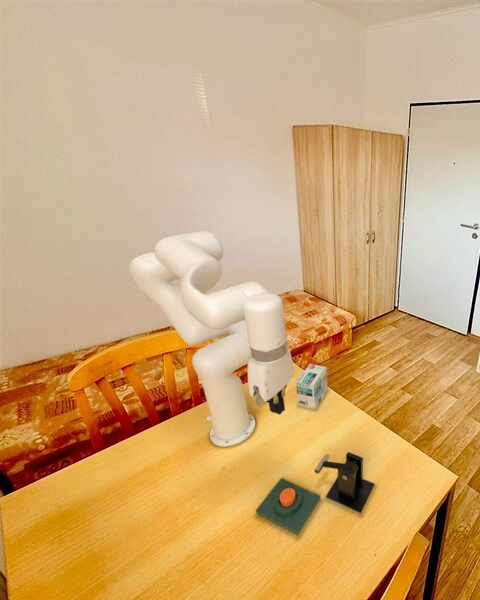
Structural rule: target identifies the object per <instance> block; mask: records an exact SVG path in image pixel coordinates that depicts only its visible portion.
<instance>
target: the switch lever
mask: <svg viewBox="0 0 480 600" xmlns="http://www.w3.org/2000/svg"><path fill="white" fill-rule="evenodd" d="M330 457H331V456H330V454H328V453H325V454H324V456H323V457H322V459H321V460H320V461H319V462H318V464H317V465H316V467H315V469H314V471H313V472H314V473H315V474H317V475H319V474H320V473H321V472H322V470H323V468H328V469H335V470H338V467H339V465H342V466H344V467H347V468H349V469H351V470H354V471H356V472H357V470H358V469H359V468H358V465H357V463H356V461H351V460H347V461H346V460H345V462H343V463H342V462H335V461H329V460H330Z"/></svg>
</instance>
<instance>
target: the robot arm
mask: <svg viewBox="0 0 480 600" xmlns="http://www.w3.org/2000/svg"><path fill="white" fill-rule="evenodd" d="M223 257H224V247H223V244H222V242H221V240H220V239H219V238H218V236H217V235H215V234H214V233H212V232H210V231H206V230H199V231H194V232H187V233H181V234H174V235H169V236H166V237H164V238H162V239H160V240H158V242H157V243H156V244H155V246H154V250H153V251H151V252H146V253H143V254H141V255H138V256H136V257H135V258H133V259H132V260H131V261H130V262H129V266H128V269H129V273H130V276H131V278H132V280H133V282H134V283H135V285H136V286H137V288H138V289H139V290H140V291H141V293H143V294H144V295H145V296H146V297H147V298H148V299H149V300H151V301H152V302H153V303H155V304H156V306H157V307H159V309H161V311H162V312H163V313H164V316H166V318H167V319H168V321H169V322H170V324H171V325H172V327H173V328H174V330H175V331H176V332H177V334H178V336H179V337H180V338H181V340H182V341H183V342H184V343H186V345H188V346H191V347H192V346H193V347H194V346H198V345H201V344H204V343H207V342H209V341H211V340H214V339H216V338H219V337H221V336H224V335H226V334H227V335H228V336H225V337H223V338H220V339H218V340H215V341H213V342H211V343H209V344H207V345H204V346H203V347H201V348H199V349H197V350H196V352H195V353H194V354H193V356H192V358H191V363H192V367H193V370H194V371H195V373H196V375H197V377H198V378H199V381H200V384H201V386H202V388H203V392H204V395H205V399H206V403H207V406H208V410H209V414H210V415H208V416H207V417H206V420H207V421H208V422H211V425H212V427H211V429H210V430H209V438H210V441H211V442H212V443H213V445H215V446H218V447H225V448H227V447H232V446H233V447H234V446H236V445H238V444H241V443H242V442H244V441H245V440H247V439H248V438H249V437H250V436H251V435H252V434H253V433H254V431H255V428H256V419H255V417H254V416H253V415H252V414H251V413H249V411H248V405H247V402H246V397H245V391H244V386H243V381H242V379H241V378H240V377H239V375H237V374H235V373H233V372H235V371H236V370H238V369H240V368H242V367H243V366H245V365H247V385H248V392H249V396H250V397H252V398H254V397H255V406H258V407H260V408H262V407H263V406H265V405H267V404H268V407H269V411H270V412H271V413H274V414H277V415H282V413H283V412H285V410H286V409H285V407H286V406H285V398H284V397H285V396H286V388H287V387H288V386H287V385H288V384H289V383H290V382H291V381H292V380H293V378H294V374H295V372H294V363H293V357H292V354H291V353H292V352H291V351H290V347H289V346H288V340H287V337H288V334H287V330H286V321H285V320H286V319H285V311H284V310H285V309H284V303H283V300H282V298H281V297H280V295H278V294H275V293H273V292H270V291H269V290H268V289H267V288H265V286H264V285H263V284H261V283H260V282H257V281H255V280H254V281H251V280H250V281H246V282H243V283H239V284H236V285H233V286H230V287H227V288H224V289H220V290H217V291H214V292H211V293H208V294H207V292H209V291H210V290H211V289H212V288H214V286H216V285H217V283H218V282H219V281H220V279H221V277H222V274H223V268H222V265H221V263H220V261H221V260H222V258H223ZM177 280H181V282H180V285H178V284H174V283H172V282H173V281H177Z"/></svg>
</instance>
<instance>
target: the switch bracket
mask: <svg viewBox="0 0 480 600" xmlns="http://www.w3.org/2000/svg"><path fill="white" fill-rule="evenodd" d="M347 460H351V461H356V463H357V465H358V468H359V469H358V470H357V472H356V471H354V470H351V469H349V468H347V467H344V466H342V465H339V467H338V469H337V477H336V479H335V481H334V482H333V483H332V486H331V487H330V489H329V490H328V493H327V494H326V496H325V498H327V499H329V500H331V501H333V502H335V503H337V504H340V505H342V506H344V507H347V508H348V509H351V510H353V511H355V512H357V513H359V514H362V512H363V510H364V508H365V506H366V503H367V501H368V499H369V497H370V495H371V493H372V492H373V489H374V487H375V483H373V482H371V481H368V480H366V479H364V457H362V456H359V455H357V454H354V453H353V452H349V451H347V452H346V454H345V462H346V461H347Z"/></svg>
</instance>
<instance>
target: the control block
mask: <svg viewBox="0 0 480 600" xmlns="http://www.w3.org/2000/svg"><path fill="white" fill-rule="evenodd" d="M287 488H292V489H294V490H295V494H296V500H295V502H294V503H293V504H292V505H291V506H289V507H284V506H282V505H281V503H280V494H281V492H282V491H283V490H285V489H287ZM320 501H321V495H318V494H316V493H315V492H312V491H310V490H308V489H305V488H303V487H301V486H300V485H297V484H295V483H293V482H290V481H288V480H286V479H284V478H282V477H281V478H280V479H279V481H277V482H276V484H275V486H273V488H272V489H271V490H270V492H269V493H268V494H267V496H266V497H265V498H264V499H263V500H262V502H261V503H260V505H259V506H258V507H257V508H256V510H255V513H256V515H258V516H260V517H262V518H264V519H266V520H268V521H269V522H272V523H273V524H275V525H277V526H278V527H281V528H283V529H285V530H287V531H288V532H290V533H292V534H295V535H296V536H299V535H300V533H301V532H302V530H303V528H304V526H305V525H306V523H307V521H308V520H309V518H310V517H311V515H312V514H313V512H314V510H315V509H316V507H317V505H318V504H319V503H320Z"/></svg>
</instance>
